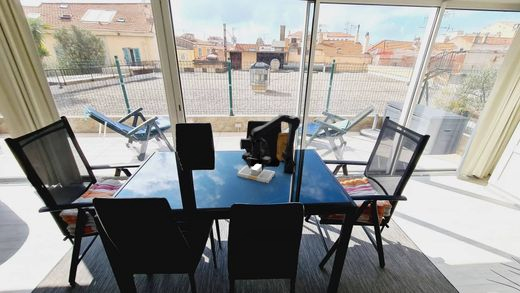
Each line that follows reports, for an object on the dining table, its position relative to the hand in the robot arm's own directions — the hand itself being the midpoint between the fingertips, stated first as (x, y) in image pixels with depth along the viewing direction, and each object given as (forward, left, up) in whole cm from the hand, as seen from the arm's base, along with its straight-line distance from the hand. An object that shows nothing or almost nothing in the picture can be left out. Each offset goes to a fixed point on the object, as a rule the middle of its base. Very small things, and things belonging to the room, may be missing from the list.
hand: (256, 169), depth 145 cm
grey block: (0, 0, -4) cm, 4 cm away
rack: (0, 0, -4) cm, 4 cm away
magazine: (+8, -26, -4) cm, 28 cm away
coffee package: (-10, -32, -4) cm, 34 cm away
